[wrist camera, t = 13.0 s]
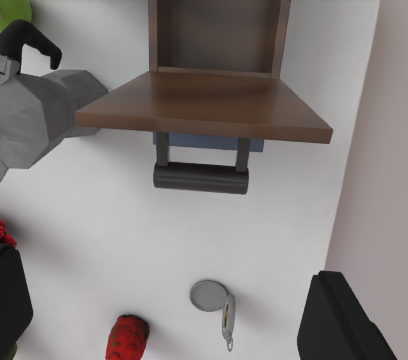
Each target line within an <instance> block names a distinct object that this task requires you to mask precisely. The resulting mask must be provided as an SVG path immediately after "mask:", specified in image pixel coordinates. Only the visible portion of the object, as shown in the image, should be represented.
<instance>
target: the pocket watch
mask: <svg viewBox="0 0 408 360" xmlns="http://www.w3.org/2000/svg"><path fill="white" fill-rule="evenodd" d="M190 300H191V302H192V304H193V305H194V306H195V307H196V308H198V309H199V310H202V311H206V312H213V311H217V310H219V309H221V308H222V307H223V306H224V310H223V319H222V333H223V337H224V339H226V341H227V348H228V351H229V352H231V350H232V347H233V339H232V337H231V336H232V332H233V328H234V320H235V297H234V296H233V295H230V294H229V295H228V296H227V292H226V290H225V288H224V287H223V286H222V285H220V284H219V283H217V282H213V281H202V282H200V283H197V284H196V285H194V287H193V288H192V289H191V292H190ZM230 341H231V349H229V344H230Z"/></svg>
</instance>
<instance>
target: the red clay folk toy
mask: <svg viewBox="0 0 408 360" xmlns="http://www.w3.org/2000/svg"><path fill="white" fill-rule="evenodd" d="M149 333H150V331H149V326H148V324H146V323H144V322H143V321H142V320H141V319H139V318H137V317H135V316H132V315H128V316H125V315H122V316H120V317H119V318H118V320H117V323H116V324H115V326H113V328H112V330H111V333H110V335H109V339H108V345H107V349H106V357H105V359H106V360H140V359H141V358H142V356H143V353H144V350H145V348H146V343H147V339H148V337H149Z"/></svg>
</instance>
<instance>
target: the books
mask: <svg viewBox="0 0 408 360" xmlns="http://www.w3.org/2000/svg"><path fill="white" fill-rule="evenodd" d="M153 144H154V145H156V132H153ZM169 146H182V147H195V148H209V149H223V150H237V147H238V138H236V137H222V136H208V135H194V134H179V133H169ZM263 146H264V139H251V143H250V150H249V151H251V152H263Z"/></svg>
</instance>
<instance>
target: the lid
mask: <svg viewBox="0 0 408 360" xmlns="http://www.w3.org/2000/svg"><path fill="white" fill-rule="evenodd" d="M75 116H76V122H77V126H79V127H94V128H108V129H122V130H136V131H151V132H156V151H157V162H156V164H155V167H154V174H153V182H154V186H155V187H156V188H165V189H178V190H191V191H203V192H216V193H229V194H242V195H245V194H246V193H247V189H248V182H249V170H248V168H247V164H248V157H249V150H250V143H251V139H265V140H279V141H293V142H308V143H322V144H329V143H330V140H331V137H332V133H333V129H332V128H331V127H330V126H329V125H328V124H327V123H326V122H325V121H324V120H323V119H322V118H320V117H319V116H318V115H317V114H316V113H315V112H314V111H313V110H312V109H311V108H310V107H309V106H308V105H307V104H306V103H305V102H304V101H302V100H301V99H300V98H299V97H298V96H297V95H296V94H295V93H294V92H293V91H292V90H291V89H290V88H289V87H288V86H287V85H285V84H284V83H283V82H282V81H281V80H280V79H267V78H251V77H235V76H219V75H203V74H187V73H171V72H155V71H148V72H146V73H144V74H142V75H140V76H139V77H137V78H135V79H133V80H131V81H130V82H128V83H126V84H124V85H122V86H121V87H119V88H117V89H115V90H113V91H112V92H110V93H108V94H106V95H105V96H103V97H101V98H99V99H97V100H96V101H94V102H92V103H90V104H88V105H87V106H85V107H83V108H81V109H79V110H78V111H76V112H75ZM169 133H179V134H194V135H208V136H222V137H236V138H238V147H237V156H236V164H235V166H223V165H210V164H196V163H182V162H170V157H169Z"/></svg>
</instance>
